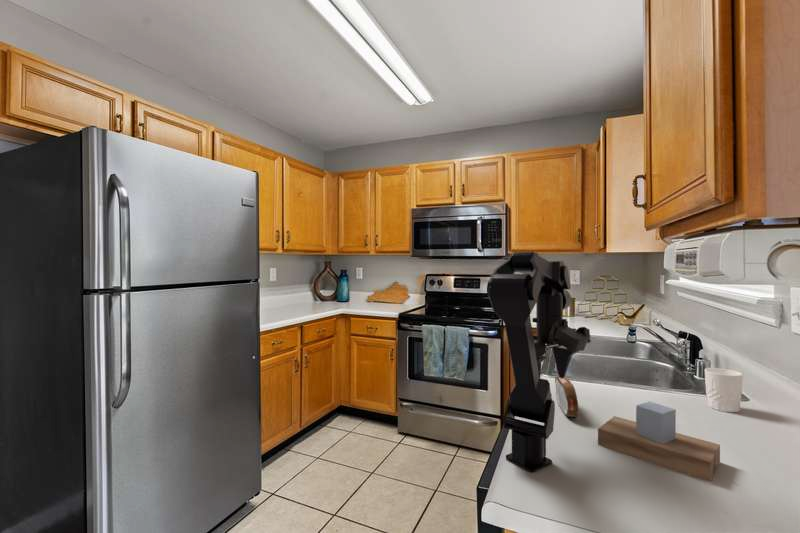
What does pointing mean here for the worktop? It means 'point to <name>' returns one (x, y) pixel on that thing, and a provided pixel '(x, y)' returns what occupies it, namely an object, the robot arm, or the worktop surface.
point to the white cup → (723, 389)
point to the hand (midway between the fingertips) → (549, 380)
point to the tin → (566, 397)
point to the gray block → (656, 422)
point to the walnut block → (662, 449)
